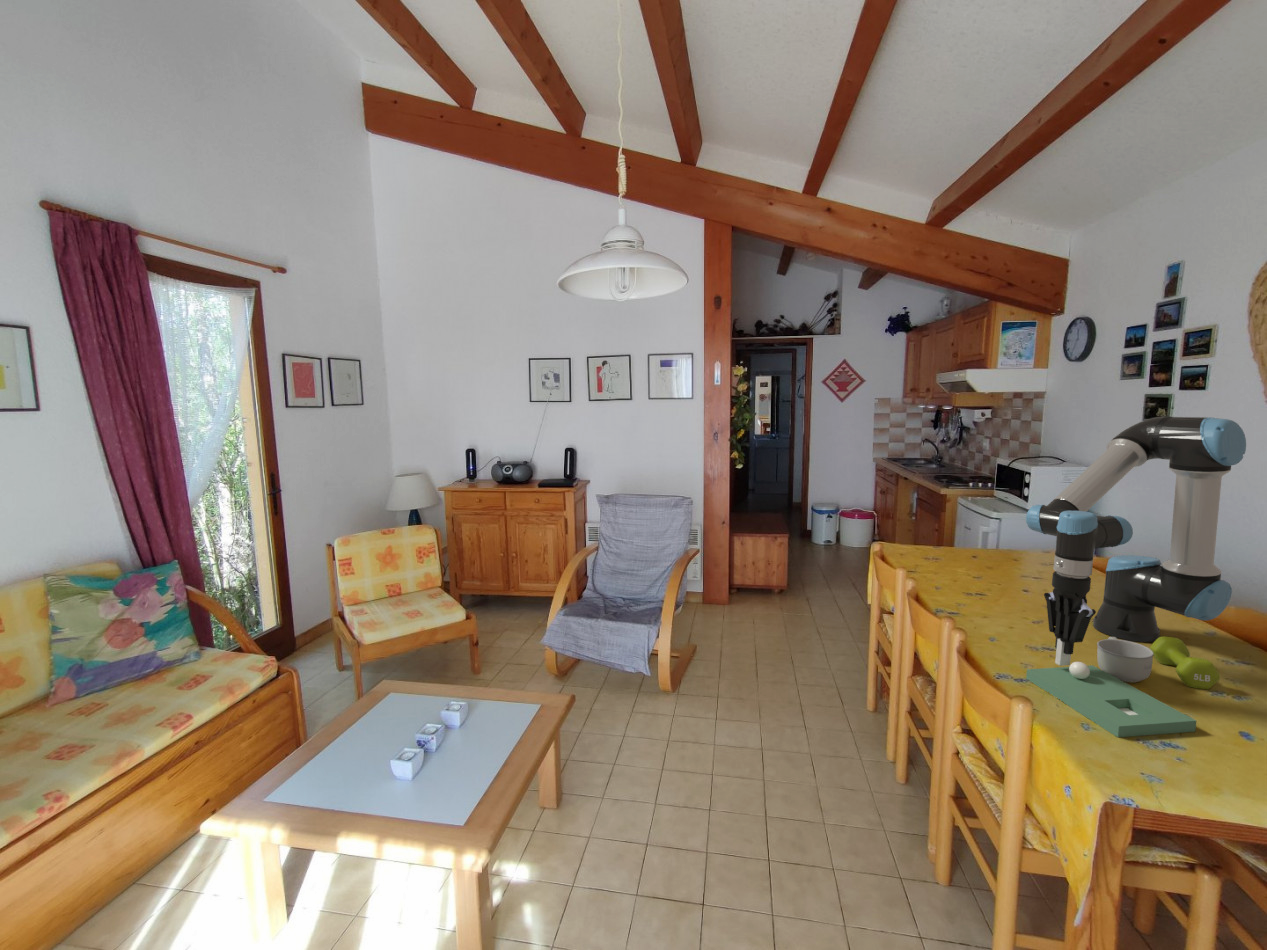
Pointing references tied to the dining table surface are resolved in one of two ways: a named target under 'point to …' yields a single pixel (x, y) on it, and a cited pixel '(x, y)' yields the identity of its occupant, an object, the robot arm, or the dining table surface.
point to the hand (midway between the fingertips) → (1062, 663)
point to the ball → (1079, 670)
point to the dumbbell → (1185, 663)
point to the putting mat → (1111, 702)
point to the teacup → (1124, 659)
